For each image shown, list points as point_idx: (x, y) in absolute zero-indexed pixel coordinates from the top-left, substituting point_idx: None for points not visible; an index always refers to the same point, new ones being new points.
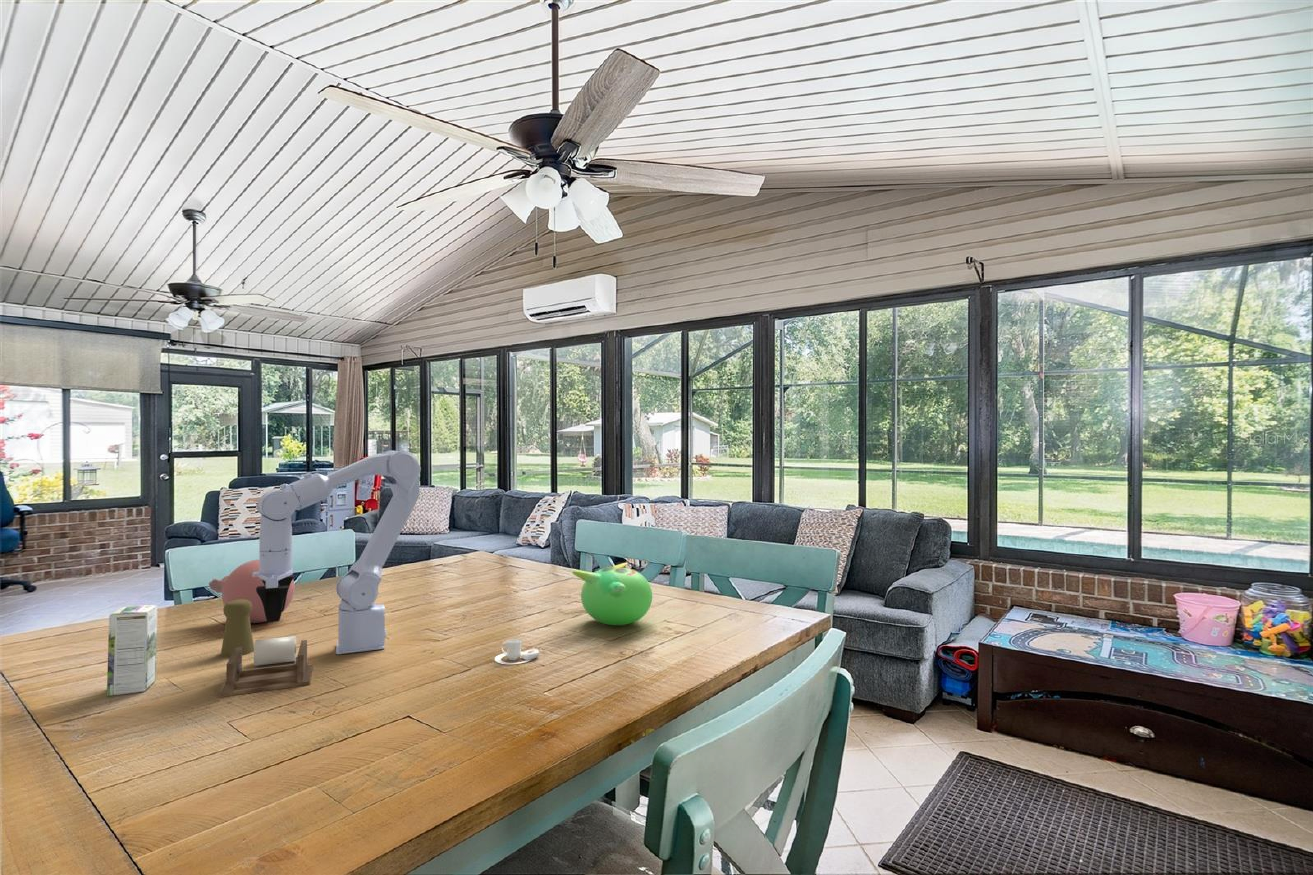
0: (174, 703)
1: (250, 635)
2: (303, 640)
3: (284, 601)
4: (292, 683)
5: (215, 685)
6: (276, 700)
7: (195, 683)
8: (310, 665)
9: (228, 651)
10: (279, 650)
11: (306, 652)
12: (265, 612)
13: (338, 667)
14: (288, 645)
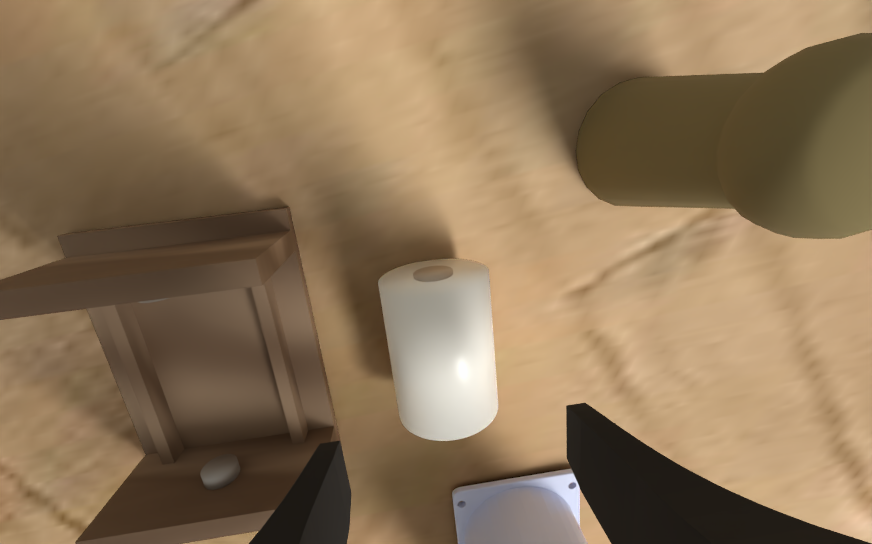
0: (6, 77)
1: (661, 205)
2: None
3: (602, 519)
4: (143, 442)
5: (210, 178)
6: (21, 420)
7: (250, 87)
8: None
9: (597, 121)
10: (394, 374)
11: None
12: (289, 493)
13: None
14: (405, 411)
